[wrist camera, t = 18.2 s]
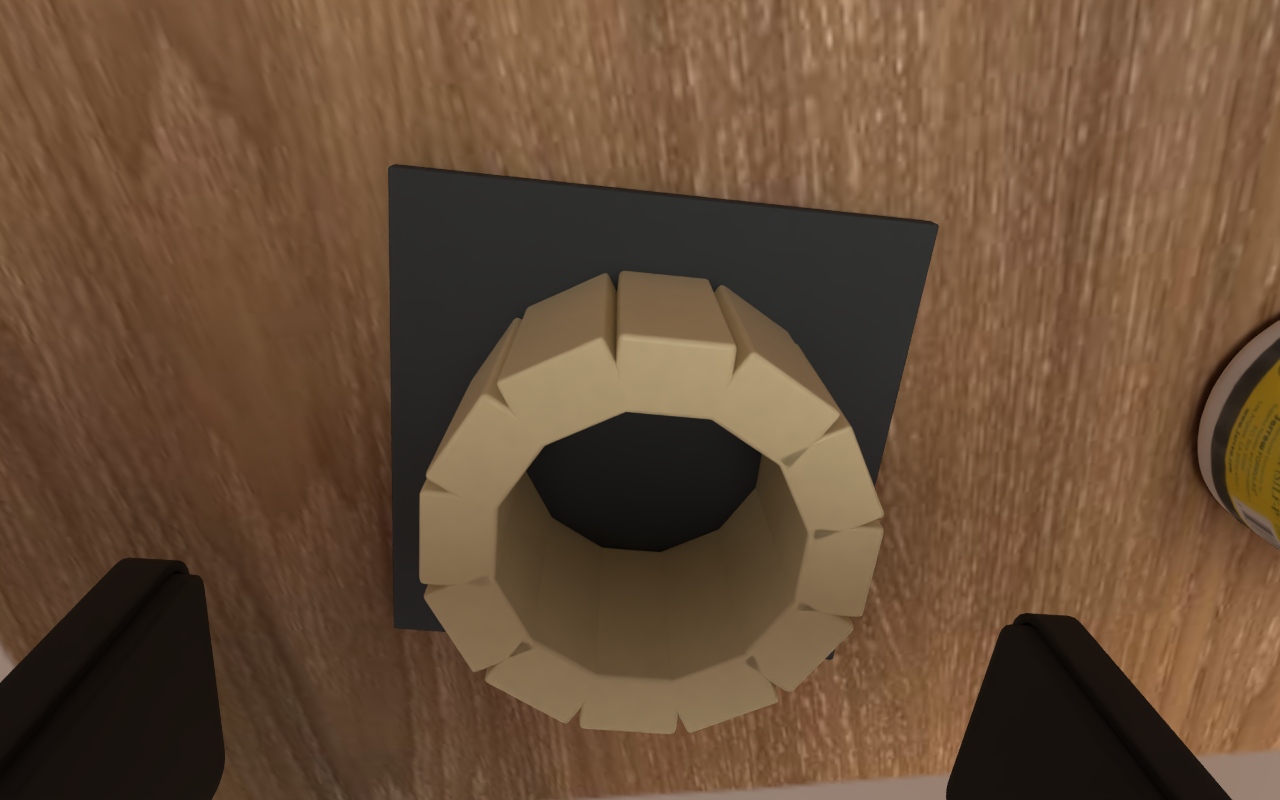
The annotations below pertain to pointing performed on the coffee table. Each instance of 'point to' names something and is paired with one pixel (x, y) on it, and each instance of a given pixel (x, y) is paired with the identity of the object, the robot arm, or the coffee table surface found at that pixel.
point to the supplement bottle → (1246, 436)
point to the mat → (611, 243)
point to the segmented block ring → (632, 579)
